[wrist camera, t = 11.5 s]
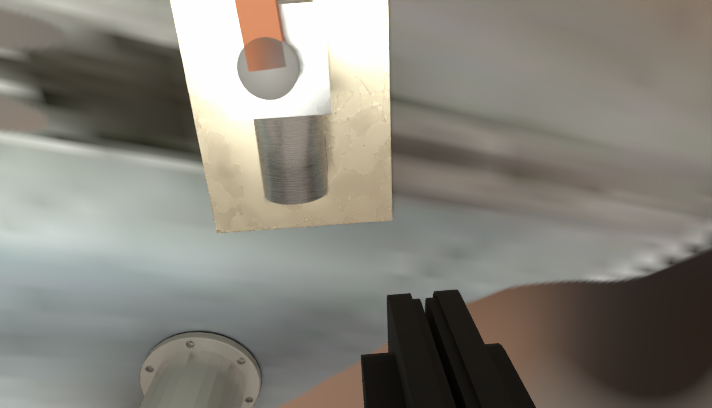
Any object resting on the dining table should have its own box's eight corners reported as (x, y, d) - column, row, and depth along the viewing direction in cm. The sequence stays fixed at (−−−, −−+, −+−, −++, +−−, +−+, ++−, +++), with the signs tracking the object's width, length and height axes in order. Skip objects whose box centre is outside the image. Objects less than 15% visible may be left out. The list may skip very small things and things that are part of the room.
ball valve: (390, 213, 41) (412, 281, 30) (220, 225, 41) (182, 300, 30) (381, -189, 29) (412, -309, 19) (141, -179, 29) (31, -298, 18)
